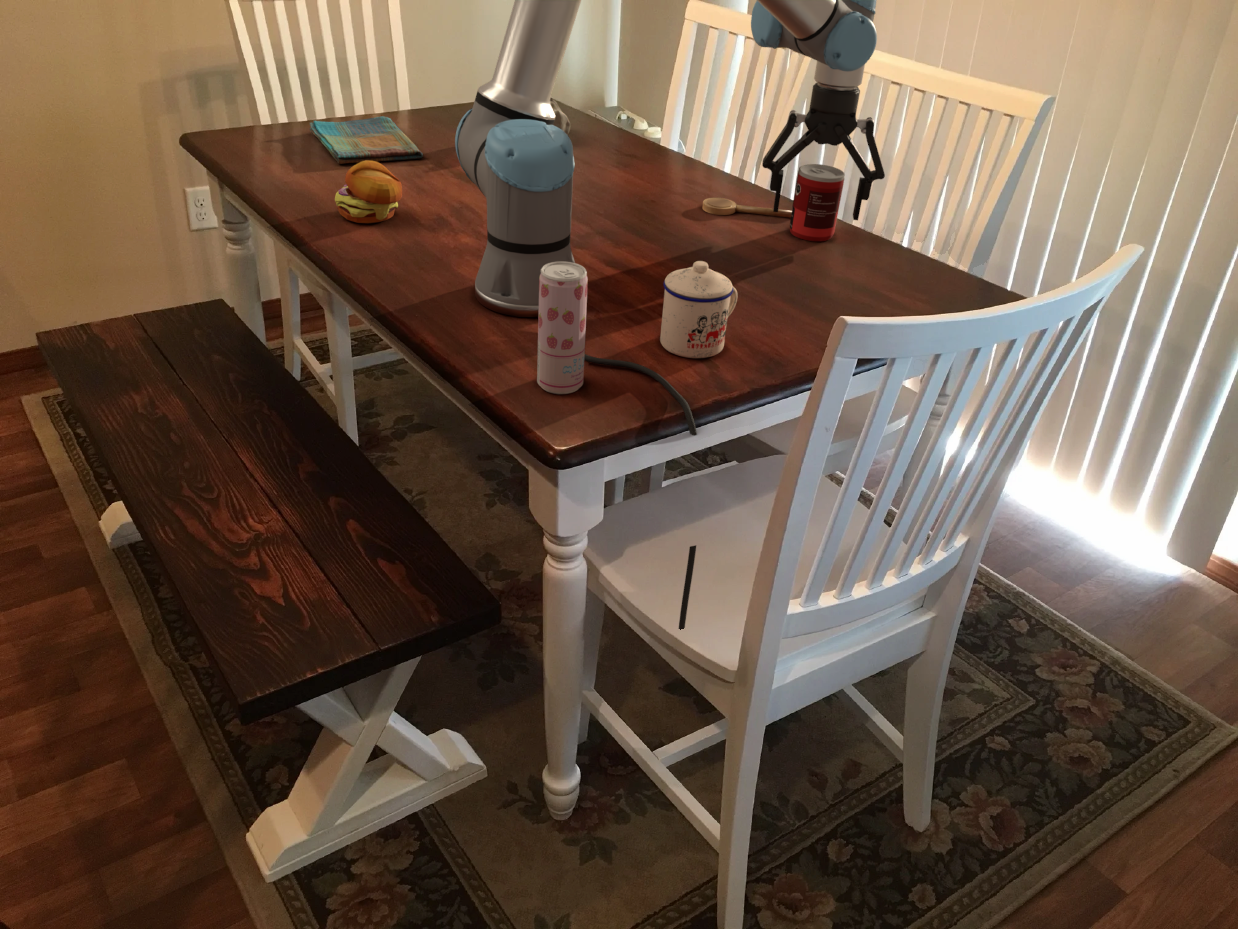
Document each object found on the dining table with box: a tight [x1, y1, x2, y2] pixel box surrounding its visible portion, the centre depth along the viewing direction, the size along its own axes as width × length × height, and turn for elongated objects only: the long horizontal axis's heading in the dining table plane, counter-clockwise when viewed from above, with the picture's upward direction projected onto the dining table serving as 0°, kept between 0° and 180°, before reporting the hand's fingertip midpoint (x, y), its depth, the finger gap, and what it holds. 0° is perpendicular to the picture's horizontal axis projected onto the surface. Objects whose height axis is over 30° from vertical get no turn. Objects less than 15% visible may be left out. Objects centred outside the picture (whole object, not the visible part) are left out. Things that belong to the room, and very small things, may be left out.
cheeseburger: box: [334, 160, 403, 224], centre depth 164 cm, size 10×11×10 cm
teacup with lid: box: [659, 260, 739, 359], centre depth 131 cm, size 12×9×12 cm
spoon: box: [701, 197, 792, 219], centre depth 179 cm, size 17×6×1 cm, turn 82°
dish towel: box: [309, 116, 424, 165], centre depth 198 cm, size 17×23×2 cm
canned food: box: [789, 163, 846, 242], centre depth 169 cm, size 8×8×11 cm
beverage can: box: [536, 261, 589, 395], centre depth 118 cm, size 6×6×15 cm
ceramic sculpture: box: [550, 97, 572, 136], centre depth 210 cm, size 11×9×15 cm
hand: (815, 213), depth 170 cm, fingers open, 13 cm apart
